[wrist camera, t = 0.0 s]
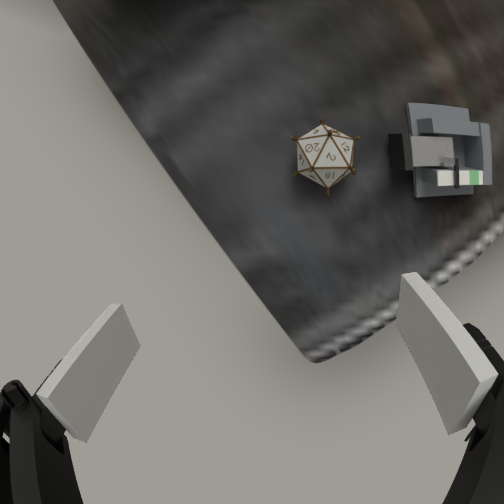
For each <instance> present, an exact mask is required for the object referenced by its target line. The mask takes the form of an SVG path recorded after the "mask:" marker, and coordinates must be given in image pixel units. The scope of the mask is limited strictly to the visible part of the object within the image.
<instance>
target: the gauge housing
mask: <svg viewBox="0 0 504 504" xmlns="http://www.w3.org/2000/svg"><path fill="white" fill-rule="evenodd" d="M405 105H406V111H407V118H408V125H409V133H410V136H428V137H451V138H452V139H453V151H454V158H458V159H459V188H458V189H456V188H454V166H415V167H413V183H414V197H417V198H418V197H432V196H447V195H465V194H473V191H474V185H481V184H483V185H492V156H491V141H490V130H489V124H485V123H476V122H470V120H469V113H468V109H466V108H459V107H452V106H444V105H434V104H423V103H405Z"/></svg>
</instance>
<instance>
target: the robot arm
mask: <svg viewBox="0 0 504 504" xmlns="http://www.w3.org/2000/svg"><path fill="white" fill-rule="evenodd" d="M396 326H397V328H398V330H399V332H400V333H401V335H402V337H403V339H404V341H405V343H406V344H407V347H408V348H409V350H410V352H411V354H412V356H413V358H414V360H415V362H416V364H417V366H418V368H419V370H420V372H421V374H422V376H423V378H424V380H425V382H426V384H427V387H428V389H429V391H430V393H431V395H432V397H433V399H434V402H435V404H436V406H437V409H438V411H439V413H440V415H441V418H442V420H443V423H444V425H445V427H446V430H447V432H448V435H450V434H452V433H454V432H457V431H459V430H462V429H464V428H466V427H467V425H468V424H469V422H470V421H471V419H472V418H473V419H474V421H475V423H476V425H475V426H474V427H473V429H472V430H471V432H470V433H469V434H468V436H467V437H466V439H465V441H468V439H469V438H470V440H469V443H468V446H467V449H466V451H465V454H464V457H463V459H462V462H461V465H460V467H459V470H458V472H457V474H456V476H455V479H454V481H453V483H452V485H451V487H450V490H449V492H448V494H447V496H446V498H445V500H444V502H443V503H442V504H504V361H503V359H502V358H501V357H500V356H499V354H498V353H497V351H496V350H495V349H494V348H493V347H491V344H490V342H489V341H488V340H486V337H485V336H484V335H483V334H482V332H480V330H479V329H478V328H476V327H475V326H473V325H471V324H470V323H467V324H464V325H462V324H461V323H460V322H459V320H458V319H457V318H456V317H455V315H454V314H453V313H452V312H451V311H450V310H449V308H448V307H447V306H446V305H445V304H444V302H443V301H442V300H441V299H440V298H439V297H438V295H437V294H436V293H435V292H434V291H433V290H432V289H431V288H430V286H429V285H428V284H427V283H426V282H425V281H424V280H423V279H422V278H421V277H420V276H419V274H418V273H417V272H412V273H406V274H401V286H400V296H399V304H398V312H397V320H396ZM139 348H140V344H139V342H138V340H137V337H136V335H135V333H134V331H133V329H132V326H131V324H130V322H129V319H128V317H127V314H126V312H125V310H124V307H123V305H122V303H112V304H110V305H109V306H108V307H107V308H106V309H105V310H104V311H103V312H102V313H101V315H100V316H99V317H98V318H97V319H96V320H95V321H94V323H93V324H92V325H91V326H90V327H89V328H88V330H87V331H86V332H85V333H84V334H83V335H82V337H81V338H80V339H79V340H78V341H77V343H76V344H75V345H74V346H73V347H72V348H71V350H70V351H69V352H68V353H67V355H66V356H65V357H64V358H63V359H62V360H60V362H59V363H58V364H57V365H56V366H55V368H54V370H52V372H51V373H50V374H49V376H47V378H46V379H45V380H44V382H43V383H42V384H41V386H40V387H39V388H38V390H37V391H36V392H35V394H34V395H33V396H32V397H31V395H30V394H29V393H28V391H27V390H26V389H25V388H24V386H23V384H22V383H21V382H20V381H19V380H13V381H10V382H8V383H7V384H6V385H5V386H4V387H3V388H2V390H1V393H0V504H83V501H82V498H81V494H80V491H79V488H78V484H77V481H76V476H75V472H74V468H73V464H72V460H71V455H70V450H69V444H68V440H67V437H66V436H65V435H64V432H65V431H66V430H67V431H68V432H69V433H70V434H71V436H72V437H73V438H75V439H78V440H81V441H83V442H87V440H88V439H89V437H90V435H91V433H92V431H93V429H94V428H95V426H96V424H97V422H98V420H99V418H100V416H101V414H102V413H103V411H104V409H105V407H106V405H107V404H108V402H109V400H110V398H111V396H112V395H113V393H114V391H115V389H116V387H117V386H118V384H119V382H120V380H121V379H122V377H123V375H124V374H125V372H126V370H127V368H128V367H129V365H130V363H131V361H132V360H133V358H134V356H135V355H136V353H137V351H138V350H139ZM3 432H4V433H5V434H6V435H7V436H8V437H9V438H10V444H9V443H8V442H7V441H6V440H5V439H4V438H3V437H2V436H3Z"/></svg>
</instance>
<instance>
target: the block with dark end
mask: <svg viewBox="0 0 504 504" xmlns="http://www.w3.org/2000/svg"><path fill="white" fill-rule="evenodd" d="M388 137H389V146H390V156H391V167H394V168H398V169H402V170H413V167H415V166H454V188H456V189H458V188H459V159H458V158H454V151H453V139H452V138H451V137H428V136H410V134H388Z"/></svg>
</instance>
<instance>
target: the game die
mask: <svg viewBox="0 0 504 504" xmlns="http://www.w3.org/2000/svg"><path fill="white" fill-rule="evenodd" d="M320 123H321V124H320V125H319V126H317V127H316V128H314V129H312V130H311V131H309V132H307V133H306V134H304V135H303V136H301V137H300V138H298V139H297V138H296V137H294V136H290V138H291V139H292V140H293V141H296V153H297V171H295V172H293V174H292V176H296V175H297V174H298V173H299V174H301V175H303V176H305V177H307V178H308V179H310V180H312V181H314V182H316V183H317V184H319V185H321V186H323V187H325V188H326V189H327V195H328V196H329V195H330V188H331V187H332V186H334V185H335V184H336V183H338V182H339V181H340V180H342V179H343V178H344V177H346V176H347V175H348V174H350V173H351V172H352V174H353V175H355V174H357V173H356V170H355V168H354V167H353V157H354V141H355V140H359V137H360V136H356V137H354V138H351V137H349V136H347V135H345V134H343V133H341V132H339V131H337V130H335V129H333V128H331V127H329V126H327V125H325V124H324V119H323V118H322V117H321V119H320Z"/></svg>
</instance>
